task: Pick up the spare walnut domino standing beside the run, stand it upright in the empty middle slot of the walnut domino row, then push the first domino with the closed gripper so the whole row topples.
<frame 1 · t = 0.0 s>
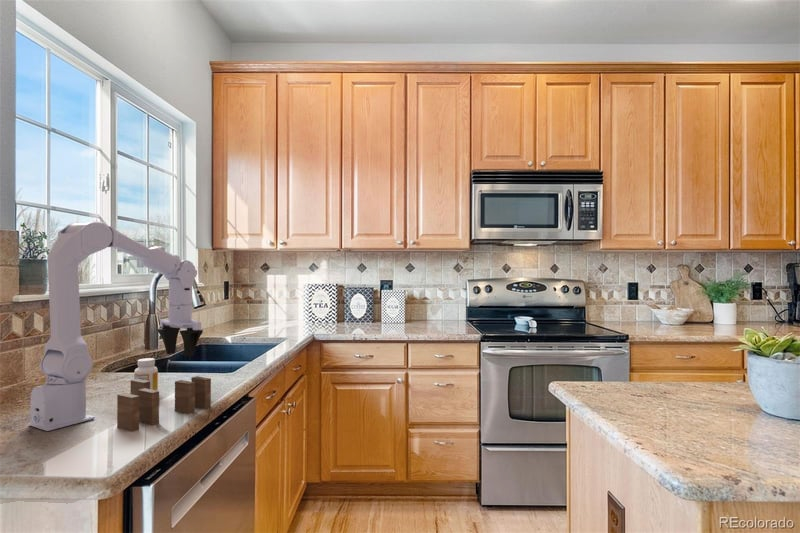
hand: (180, 355, 129), 10 cm above the worktop, tool pointing down, fingers open, 7 cm apart
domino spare: (140, 410, 113), on the worktop
domino 4: (184, 411, 112), on the worktop
domino 2: (148, 422, 104), on the worktop
domino 5: (200, 406, 116), on the worktop
domino 1: (128, 428, 100), on the worktop
supplement bottle: (146, 397, 124), on the worktop
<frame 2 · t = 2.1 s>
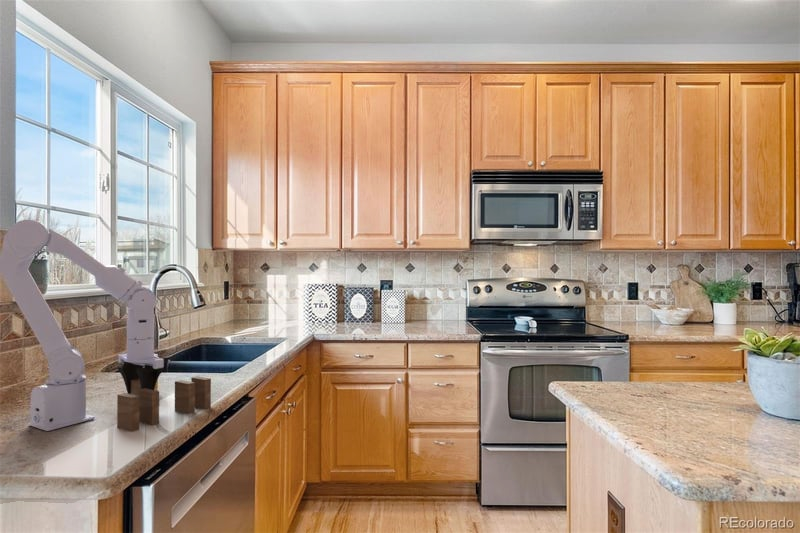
hand: (140, 395, 113), 3 cm above the worktop, tool pointing down, fingers closed on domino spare, 5 cm apart
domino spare: (140, 410, 113), on the worktop, touching gripper
everything else where it was.
when the fingers open (4 cm above the worktop, at t = 6.6 s): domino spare drops 1 cm, on the worktop.
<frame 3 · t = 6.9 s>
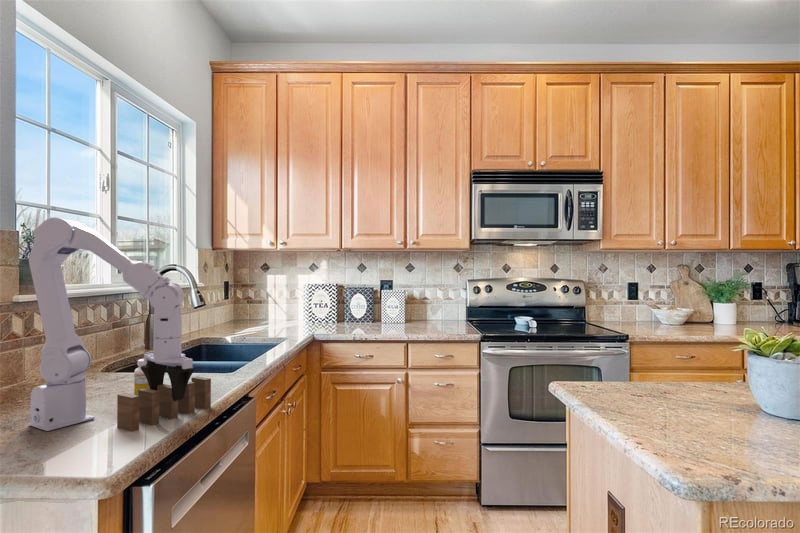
hand: (167, 397, 108), 4 cm above the worktop, tool pointing down, fingers open, 7 cm apart
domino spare: (167, 416, 108), on the worktop
everything else where it was.
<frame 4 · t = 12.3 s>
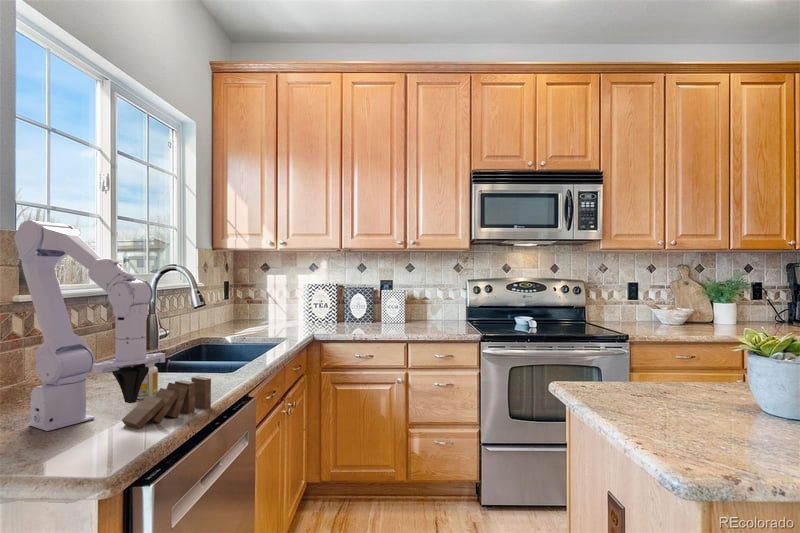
hand: (130, 402, 100), 5 cm above the worktop, tool pointing down, fingers closed
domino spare: (167, 415, 108), on the worktop, tilted 23°
domino 2: (150, 419, 104), point 1 cm above the worktop, tilted 43°
domino 1: (130, 424, 100), point 1 cm above the worktop, tilted 57°
everything else where it was.
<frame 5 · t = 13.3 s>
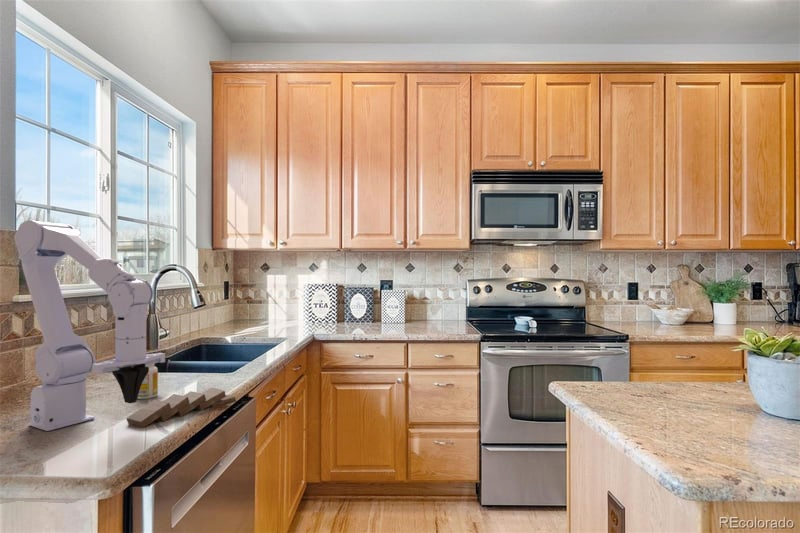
hand: (130, 402, 100), 5 cm above the worktop, tool pointing down, fingers closed
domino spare: (173, 412, 109), point 1 cm above the worktop, tilted 71°, touching domino 2
domino 4: (194, 405, 114), point 1 cm above the worktop, tilted 75°, touching domino 5
domino 2: (155, 416, 105), point 1 cm above the worktop, tilted 68°, touching domino 1, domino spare
domino 5: (205, 405, 117), on the worktop, tilted 90°, touching domino 4
domino 1: (134, 423, 101), point 1 cm above the worktop, tilted 70°, touching domino 2
everything else where it was.
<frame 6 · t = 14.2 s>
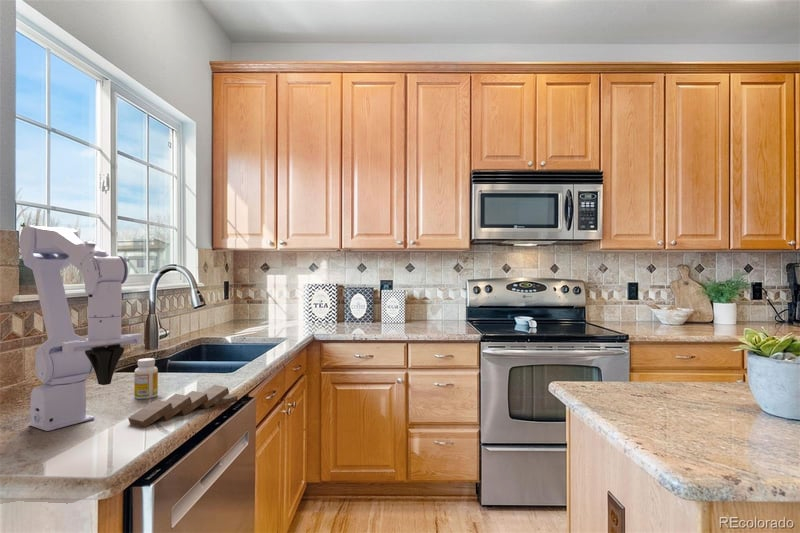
hand: (104, 384, 96), 10 cm above the worktop, tool pointing down, fingers closed
domino 4: (198, 404, 115), point 1 cm above the worktop, tilted 70°, touching domino 5
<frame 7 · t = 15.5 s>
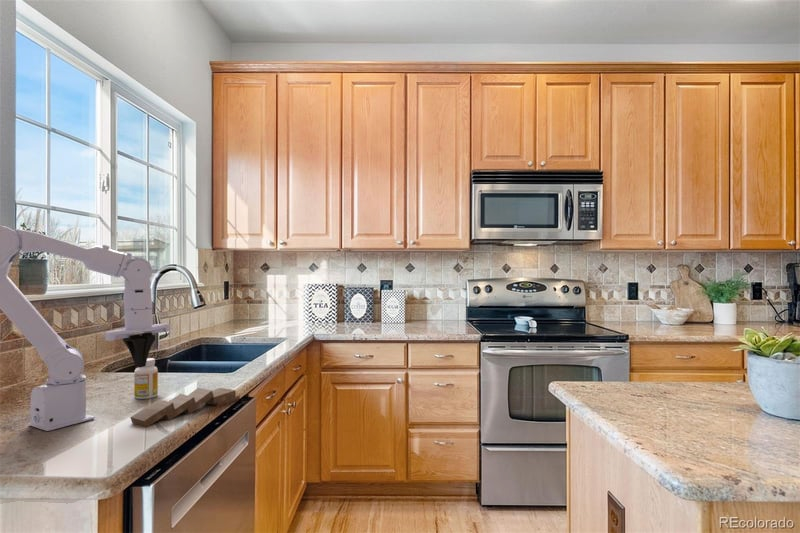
hand: (140, 366, 112), 10 cm above the worktop, tool pointing down, fingers closed
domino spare: (181, 409, 111), point 1 cm above the worktop, tilted 67°, touching domino 2
domino 4: (206, 399, 116), point 2 cm above the worktop, tilted 90°
domino 2: (161, 415, 106), point 1 cm above the worktop, tilted 71°, touching domino 1, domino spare
domino 5: (210, 404, 118), on the worktop, tilted 90°
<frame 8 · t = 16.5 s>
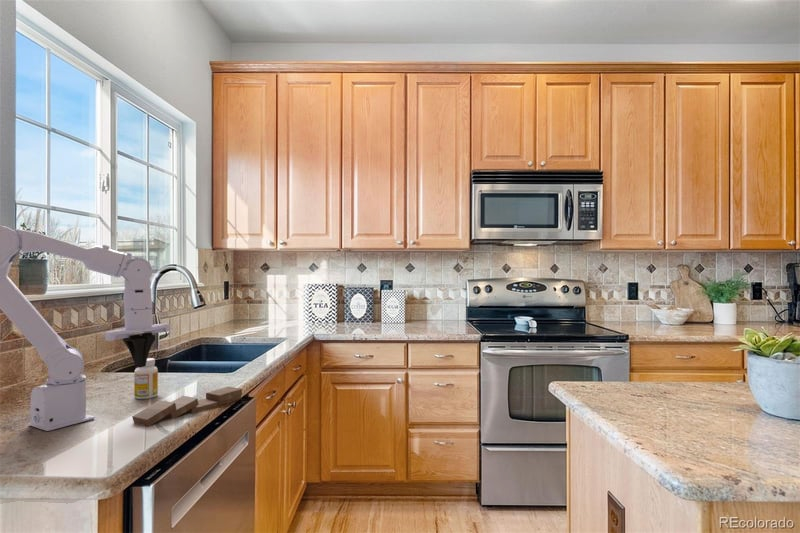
hand: (140, 366, 112), 10 cm above the worktop, tool pointing down, fingers closed
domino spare: (185, 410, 112), on the worktop, tilted 90°
domino 4: (212, 397, 118), point 2 cm above the worktop, tilted 89°, touching domino 5
domino 2: (164, 414, 107), point 1 cm above the worktop, tilted 77°, touching domino 1
domino 5: (211, 403, 118), on the worktop, tilted 90°, touching domino 4
at the end: domino 5 tilted 90°; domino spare tilted 90°; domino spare inside the target area (0.3 cm from its centre), on the worktop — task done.
